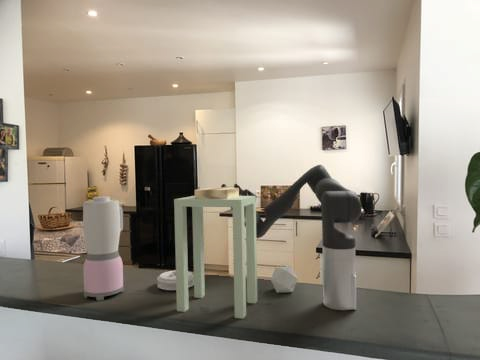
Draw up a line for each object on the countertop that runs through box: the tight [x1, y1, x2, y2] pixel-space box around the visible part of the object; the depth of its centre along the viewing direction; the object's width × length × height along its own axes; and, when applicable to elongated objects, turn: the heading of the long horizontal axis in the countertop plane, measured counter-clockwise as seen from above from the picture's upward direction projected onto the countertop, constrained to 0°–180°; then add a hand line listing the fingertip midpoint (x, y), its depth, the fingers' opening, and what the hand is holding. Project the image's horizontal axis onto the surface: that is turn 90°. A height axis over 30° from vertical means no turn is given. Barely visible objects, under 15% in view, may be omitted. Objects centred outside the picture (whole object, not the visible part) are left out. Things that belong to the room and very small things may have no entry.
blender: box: [82, 196, 124, 301], centre depth 122 cm, size 16×12×32 cm
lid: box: [156, 270, 194, 291], centre depth 127 cm, size 13×13×5 cm
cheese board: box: [194, 185, 239, 199], centre depth 113 cm, size 10×20×2 cm, turn 162°
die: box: [270, 266, 298, 294], centre depth 120 cm, size 8×9×10 cm
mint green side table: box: [173, 195, 258, 319], centre depth 108 cm, size 20×14×32 cm
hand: (229, 186), depth 118 cm, fingers closed on cheese board, 3 cm apart
